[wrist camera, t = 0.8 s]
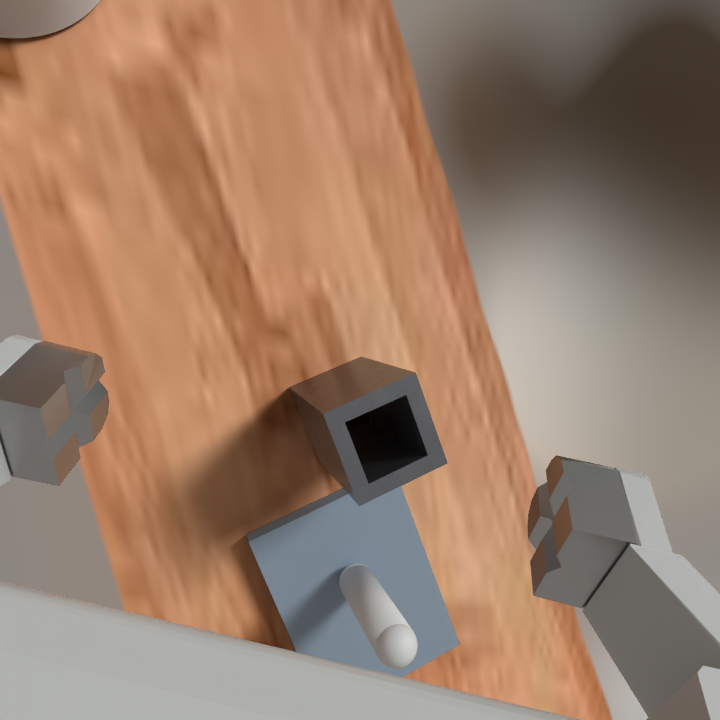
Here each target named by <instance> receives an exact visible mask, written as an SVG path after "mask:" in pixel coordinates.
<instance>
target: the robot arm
mask: <svg viewBox="0 0 720 720" xmlns="http://www.w3.org/2000/svg"><path fill="white" fill-rule="evenodd" d="M100 1H101V0H0V37H1V38H30V37H37V36H42V35H47V34H50V33H54V32H56V31H59V30H62V29H64V28H66V27H68V26H70V25H72V24H74V23H75V22H77V21H79V20H80V19H82V18H83V17H84V16H85V15H87V14H88V13H89V12H90V11H91V10H92V9H93V8H94V7H95V6H96V5H97V4H98V3H99V2H100ZM104 373H105V370H104V365H103V360H102V357H100V356H99V355H97V354H96V353H92V352H87V351H83V350H79V349H75V348H71V347H67V346H63V345H59V344H55V343H51V342H47V341H40V340H36V339H32V338H28V337H24V336H20V335H15V336H11V337H8V338H6V339H5V340H4V341H3V342H2V343H1V344H0V485H2V484H4V483H5V482H7V481H9V480H11V478H12V477H11V476H13V477H18V478H23V479H28V480H32V481H37V482H42V483H47V484H52V485H57V486H60V484H61V483H62V482H63V480H64V479H65V478H66V477H67V475H68V474H69V473H70V471H71V470H72V468H73V467H74V466H75V465H76V463H77V462H78V461H79V459H80V453H79V447H81V446H83V445H85V444H87V443H89V442H91V441H93V440H94V439H95V438H96V437H97V435H98V434H99V432H100V431H101V430H102V428H103V425H104V423H105V420H106V417H107V415H108V407H109V398H108V391H107V390H106V389H105V387H104V386H103V385H102V384H101V383H100V382H99V379H100V377H101V376H102V375H103V374H104ZM546 475H547V483H545V484H543V485H541V486H539V487H537V490H536V492H535V494H534V496H533V498H532V501H531V505H530V509H529V514H528V539H529V541H530V542H531V543H532V545H533V546H534V547H535V549H536V551H535V553H534V555H533V557H532V559H531V561H530V565H531V576H532V587H533V596H537V597H540V598H544V599H548V600H552V601H556V602H560V603H564V604H568V605H571V606H575V607H579V608H583V612H584V614H585V616H586V617H587V619H588V620H589V622H590V624H591V625H592V627H593V628H594V630H595V632H596V633H597V635H598V637H599V638H600V640H601V641H602V643H603V645H604V646H605V648H606V650H607V651H608V653H609V654H610V656H611V657H612V659H613V661H614V662H615V664H616V666H617V667H618V669H619V671H620V672H621V674H622V675H623V677H624V679H625V680H626V682H627V683H628V685H629V687H630V688H631V690H632V691H633V693H634V695H635V696H636V698H637V699H638V701H639V702H640V704H641V706H642V707H643V709H644V711H645V712H646V714H647V716H648V717H649V718H648V719H647V720H720V594H719V593H718V592H717V591H716V590H715V589H714V588H713V587H712V586H711V585H710V584H709V583H708V582H707V581H706V580H705V579H704V578H703V577H702V576H701V575H700V574H699V572H698V571H696V570H695V568H694V567H693V566H692V565H691V564H690V563H689V562H688V561H687V560H686V559H685V558H684V557H683V556H681V555H677V554H673V551H672V548H671V545H670V542H669V539H668V536H667V533H666V530H665V527H664V523H663V520H662V517H661V514H660V511H659V508H658V505H657V502H656V499H655V496H654V493H653V490H652V487H651V483H650V480H649V478H648V477H647V476H646V475H645V474H644V473H639V472H634V471H629V470H625V469H619V468H612V467H608V466H603V465H598V464H594V463H589V462H584V461H580V460H575V459H571V458H566V457H561V456H555V457H554V458H553V459H552V460H551V462H550V464H549V466H548V468H547V470H546ZM0 720H579V719H575V718H571V717H567V716H563V715H558V714H554V713H550V712H546V711H542V710H538V709H533V708H529V707H525V706H521V705H517V704H512V703H508V702H504V701H500V700H496V699H492V698H487V697H483V696H479V695H475V694H471V693H466V692H462V691H458V690H454V689H450V688H445V687H441V686H437V685H433V684H429V683H424V682H420V681H416V680H412V679H408V678H403V677H399V676H395V675H391V674H387V673H383V672H378V671H374V670H370V669H366V668H362V667H357V666H353V665H349V664H345V663H341V662H336V661H332V660H328V659H324V658H320V657H315V656H311V655H307V654H303V653H299V652H294V651H290V650H286V649H282V648H278V647H273V646H269V645H265V644H261V643H257V642H253V641H248V640H244V639H240V638H236V637H232V636H227V635H223V634H219V633H215V632H211V631H206V630H202V629H198V628H194V627H190V626H186V625H181V624H177V623H173V622H169V621H165V620H160V619H156V618H152V617H148V616H144V615H139V614H135V613H131V612H127V611H123V610H118V609H114V608H110V607H106V606H102V605H98V604H93V603H89V602H85V601H81V600H76V599H73V598H68V597H64V596H60V595H56V594H51V593H47V592H43V591H39V590H35V589H31V588H27V587H22V586H18V585H14V584H9V583H5V582H1V581H0Z"/></svg>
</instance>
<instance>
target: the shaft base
mask: <svg viewBox="0 0 720 720" xmlns="http://www.w3.org/2000/svg"><path fill="white" fill-rule="evenodd" d="M246 535H247V539H248V542H249V545H250V547H251V549H252V552H253V554H254V556H255V558H256V561H257V563H258V565H259V568H260V570H261V572H262V574H263V577H264V579H265V581H266V584H267V586H268V588H269V590H270V593H271V595H272V597H273V600H274V602H275V604H276V606H277V609H278V611H279V613H280V616H281V618H282V620H283V622H284V625H285V627H286V629H287V632H288V634H289V636H290V638H291V641H292V643H293V645H294V648H295V650H296V652H299V653H303V654H307V655H311V656H315V657H320V658H324V659H328V660H332V661H336V662H341V663H345V664H349V665H353V666H357V667H362V668H366V669H370V670H374V671H378V672H383V673H387V674H391V675H395V676H399V677H404V676H405V675H407V674H409V673H411V672H412V671H414V670H416V669H418V668H419V667H421V666H423V665H425V664H426V663H428V662H430V661H432V660H433V659H435V658H437V657H438V656H440V655H442V654H444V653H445V652H447V651H449V650H451V649H452V648H454V647H456V646H458V645H459V641H458V638H457V636H456V633H455V630H454V628H453V625H452V622H451V620H450V617H449V614H448V611H447V609H446V606H445V603H444V601H443V598H442V595H441V593H440V590H439V587H438V585H437V582H436V579H435V577H434V574H433V571H432V569H431V566H430V563H429V560H428V558H427V555H426V552H425V550H424V547H423V544H422V542H421V539H420V536H419V534H418V531H417V528H416V526H415V523H414V520H413V518H412V515H411V512H410V509H409V507H408V504H407V501H406V499H405V496H404V493H403V491H402V488H401V486H400V487H398V488H396V489H394V490H392V491H390V492H387V493H385V494H383V495H381V496H379V497H377V498H375V499H373V500H371V501H369V502H367V503H365V504H363V505H361V506H358V505H357V503H356V502H355V501H354V500H353V499H352V498H351V497H350V495H349V494H348V493H347V492H346V491H345V490H344V489H343V488H342V489H340V490H338V491H336V492H334V493H332V494H330V495H328V496H326V497H324V498H321V499H319V500H317V501H315V502H313V503H311V504H309V505H307V506H305V507H303V508H300V509H298V510H296V511H294V512H292V513H290V514H288V515H286V516H284V517H282V518H280V519H277V520H275V521H273V522H271V523H269V524H267V525H265V526H263V527H261V528H259V529H257V530H254V531H252V532H250V533H248V534H246Z"/></svg>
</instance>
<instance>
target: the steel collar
mask: <svg viewBox="0 0 720 720" xmlns="http://www.w3.org/2000/svg"><path fill="white" fill-rule="evenodd" d="M289 388H290V391H291V393H292V396H293V398H294V401H295V403H296V406H297V408H298V411H299V413H300V416H301V418H302V421H303V423H304V426H305V428H306V431H307V433H308V436H309V438H310V441H311V443H312V446H313V448H314V451H315V454H316V456H317V459H318V460H319V461H320V462H321V463H322V465H323V466H324V467H325V468H326V469H327V470H328V471H329V473H330V474H331V475H332V476H333V477H334V478H335V479H336V481H337V482H338V483H339V484H340V485H341V486H342V487H343V489H344V490H345V491H346V492H347V493H348V494H349V495H350V497H351V498H352V499H353V500H354V501H355V502H356V503H357V505H358V506H361V505H363V504H365V503H367V502H369V501H371V500H373V499H375V498H377V497H379V496H381V495H383V494H385V493H387V492H390V491H392V490H394V489H396V488H398V487H400V486H402V485H404V484H406V483H408V482H410V481H412V480H414V479H416V478H418V477H420V476H422V475H424V474H426V473H428V472H430V471H432V470H434V469H437V468H439V467H441V466H443V465H445V464H447V460H446V457H445V455H444V452H443V449H442V446H441V443H440V440H439V438H438V435H437V432H436V429H435V426H434V423H433V421H432V418H431V415H430V412H429V409H428V406H427V404H426V401H425V398H424V395H423V392H422V389H421V387H420V384H419V381H418V378H417V375H416V373H415V372H412V371H408V370H405V369H401V368H398V367H395V366H391V365H388V364H384V363H381V362H378V361H374V360H371V359H367V358H364V357H359V358H357V359H355V360H352V361H350V362H348V363H345V364H343V365H341V366H338V367H336V368H333V369H331V370H329V371H326V372H324V373H322V374H319V375H317V376H315V377H312V378H310V379H308V380H305V381H303V382H300V383H298V384H296V385H293V386H291V387H289ZM367 412H369V415H370V417H371V420H372V421H370V422H368V423H366V424H363V425H361V426H359V427H357V428H355V429H352V430H350V431H348V429H347V426H346V424H345V422H347V421H349V420H351V419H354V418H356V417H358V416H360V415H363V414H365V413H367Z"/></svg>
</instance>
